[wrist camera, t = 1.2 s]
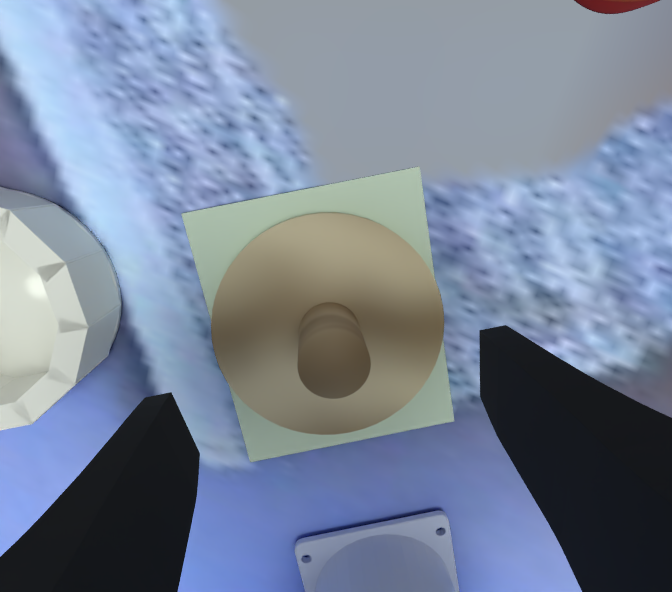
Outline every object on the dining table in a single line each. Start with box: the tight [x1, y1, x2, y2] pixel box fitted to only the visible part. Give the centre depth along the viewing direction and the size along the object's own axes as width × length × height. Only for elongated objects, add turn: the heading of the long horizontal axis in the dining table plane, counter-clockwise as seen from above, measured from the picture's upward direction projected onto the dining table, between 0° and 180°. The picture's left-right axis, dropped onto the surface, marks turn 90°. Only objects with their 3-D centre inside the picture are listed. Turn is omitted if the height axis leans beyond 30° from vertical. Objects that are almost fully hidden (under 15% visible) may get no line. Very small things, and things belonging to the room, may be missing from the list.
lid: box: [211, 212, 444, 435], centre depth 18 cm, size 10×10×4 cm
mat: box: [182, 167, 454, 462], centre depth 21 cm, size 12×10×1 cm
